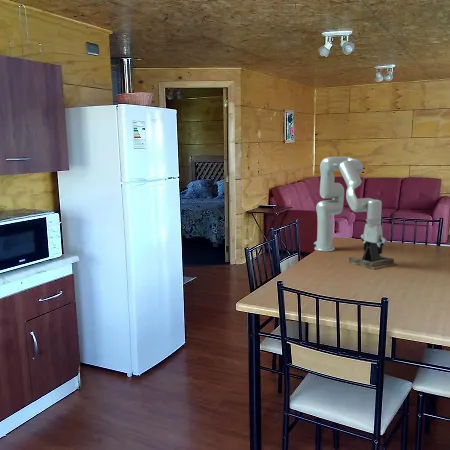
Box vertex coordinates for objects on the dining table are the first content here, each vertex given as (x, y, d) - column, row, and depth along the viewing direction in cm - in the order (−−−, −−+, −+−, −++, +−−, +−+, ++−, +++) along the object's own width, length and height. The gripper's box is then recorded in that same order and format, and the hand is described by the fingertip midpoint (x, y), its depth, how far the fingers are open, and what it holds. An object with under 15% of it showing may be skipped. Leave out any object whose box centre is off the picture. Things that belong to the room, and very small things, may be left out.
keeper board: (348, 262, 269) (349, 250, 268) (370, 258, 279) (371, 246, 277) (373, 269, 254) (374, 256, 253) (396, 264, 263) (396, 252, 262)
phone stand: (381, 262, 265) (382, 241, 263) (374, 263, 262) (375, 242, 260) (368, 259, 273) (369, 238, 271) (361, 260, 269) (362, 240, 267)
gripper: (357, 220, 268) (356, 250, 271) (381, 224, 253) (380, 255, 256) (366, 219, 272) (365, 248, 274) (391, 223, 257) (389, 254, 260)
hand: (372, 252), depth 265 cm, fingers open, 9 cm apart
